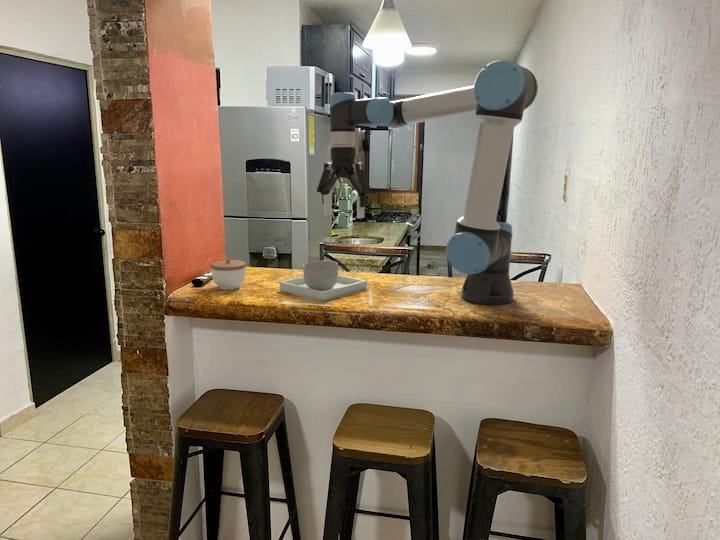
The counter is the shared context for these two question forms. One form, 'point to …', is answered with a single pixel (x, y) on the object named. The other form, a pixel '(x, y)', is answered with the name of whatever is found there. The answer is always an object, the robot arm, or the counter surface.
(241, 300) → the counter surface
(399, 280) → the counter surface
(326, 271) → the teacup
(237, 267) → the lidded jar
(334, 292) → the tray
